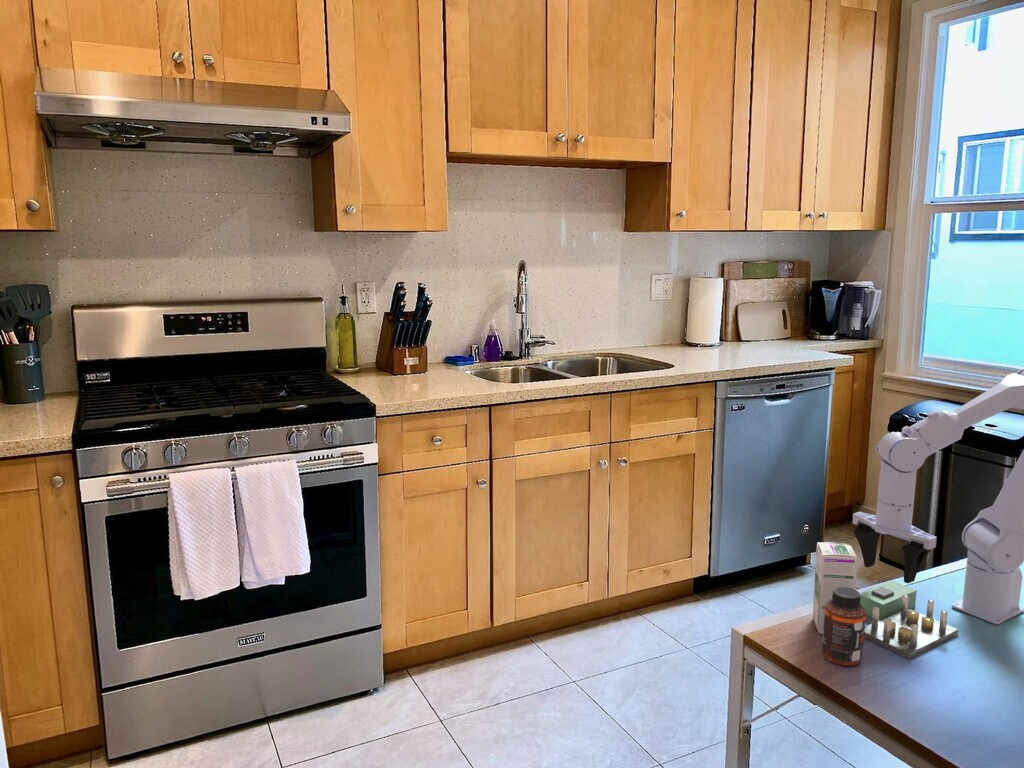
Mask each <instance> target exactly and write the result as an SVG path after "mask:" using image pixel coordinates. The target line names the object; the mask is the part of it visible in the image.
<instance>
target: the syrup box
mask: <svg viewBox="0 0 1024 768" xmlns="http://www.w3.org/2000/svg"><path fill="white" fill-rule="evenodd" d="M816 542H817V541H816ZM815 551H816V552H815V567H814V585H813V586H814V587H813V588H814V590H813V610H812V620H813V622H814V626H815V628H816V631H817V633H818V634H820V635H823V631H824V617H825V606H826V603H827V602H828V601H829V600H831V599H833V598H832V595H833V590H834V589H835V588H837V587H848V588H852V589H855V590H856V589H857V588H856V587H857V586H856V585H857V566H858V565H857V564H858V557H857V555H856V553H855V551H854V549H853V547H852V545H851V543H844V542H834V541H831V542H830V541H829V542H826V541H824V542H823V541H822V542H821V541H818V542H817V543H816V550H815Z"/></svg>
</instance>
